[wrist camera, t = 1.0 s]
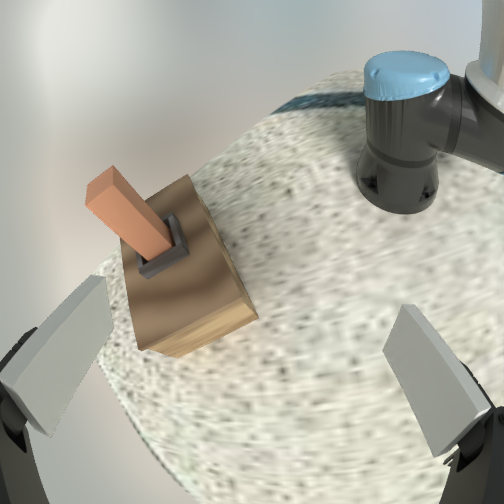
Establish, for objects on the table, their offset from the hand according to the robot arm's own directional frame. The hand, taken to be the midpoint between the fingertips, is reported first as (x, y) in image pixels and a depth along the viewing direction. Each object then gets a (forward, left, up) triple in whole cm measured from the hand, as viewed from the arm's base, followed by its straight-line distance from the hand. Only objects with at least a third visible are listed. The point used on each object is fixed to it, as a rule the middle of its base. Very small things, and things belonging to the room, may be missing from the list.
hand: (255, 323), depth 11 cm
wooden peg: (-9, -23, -16) cm, 29 cm away
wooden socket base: (-9, -23, -25) cm, 35 cm away
